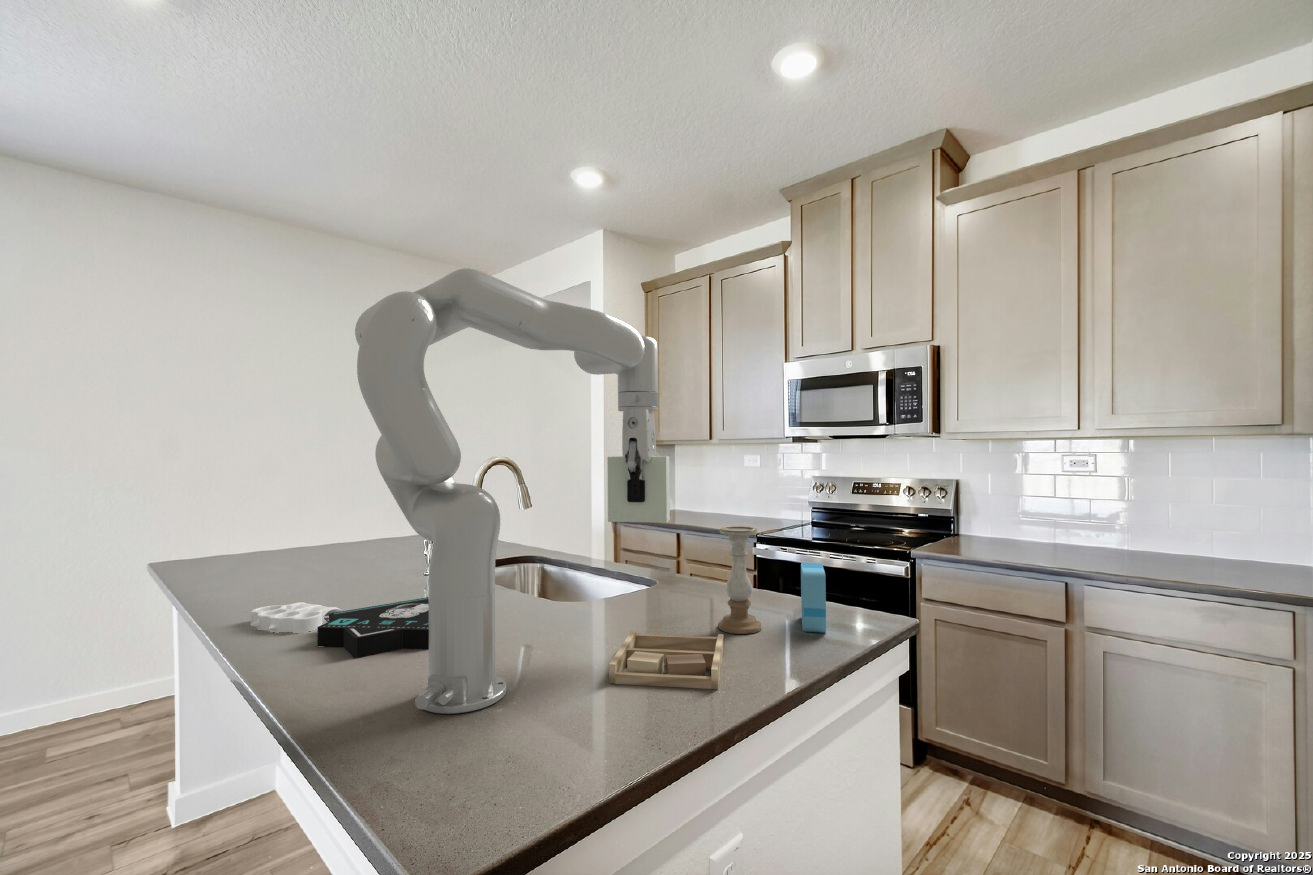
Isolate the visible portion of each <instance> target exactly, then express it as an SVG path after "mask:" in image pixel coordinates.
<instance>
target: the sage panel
mask: <svg viewBox="0 0 1313 875" xmlns="http://www.w3.org/2000/svg"><path fill="white" fill-rule="evenodd" d="M626 459H628V457H626ZM626 462H628V460H627V461H626ZM626 462H624V460H623V456H607V522H608V523H665V524H666V523H668V522H669V521H671V519H670V518H671V516H670V514H671V511H670V510H671V509H670V507H671V506H670V504H671V503H670V500H671V498H670V455H669V456H668V455H666V456H665V455H663V456H661V455H660V456H659V455H658V456H657V455H656V456H653V457H651V462H650V463H646V462H645V460H644V469H643V480H645V501H644V502H628V501H627V480H628V479H627V475H628V463H626ZM636 463H641V459H636ZM639 468H640V467H639ZM639 472H640V470H639Z"/></svg>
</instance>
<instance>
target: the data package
mask: <svg viewBox="0 0 1313 875" xmlns="http://www.w3.org/2000/svg"><path fill="white" fill-rule="evenodd" d="M826 584H827V583H826V572H825V569H824V565H823V563H821V562H820V563H814V562H801V564H800V589H801V590H800V593H801V594H800V595H801V597H800V598H801V599H800V600H801V601H800V604H801V610H800V611H801V625H802V626H801V627H802V628H801V630H802V631H803V632H807V633H826V632H827V602H826V601H827V595H826V594H827V592H826V590H827V589H826V588H827V587H826Z"/></svg>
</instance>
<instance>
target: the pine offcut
mask: <svg viewBox="0 0 1313 875" xmlns="http://www.w3.org/2000/svg"><path fill="white" fill-rule="evenodd" d="M626 666H627V667H626V668H627V671H626V672H631V673H650V674H664V672H665V666H664V654H656V653H646V652H634V653H633V654H632V655H631V656H630V657H629V658H628V659H627V665H626Z"/></svg>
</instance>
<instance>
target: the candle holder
mask: <svg viewBox="0 0 1313 875" xmlns="http://www.w3.org/2000/svg"><path fill="white" fill-rule="evenodd" d="M719 533H720V534H721V535H725V536H727V537H728V538H727V540H728V541H729V543H730V544H731V549H730V551H729V553H728V554H729V556H731V570H730V571H731V572H730V575H729V577H728V580H727V582H726V585H725V591H726V594H727V596H728V597H729V600H728V601H727V605H728V606H729V609H730V613H727V614H725V615H724V616H722V619H720V620H719V621H718V622H717V627H718V629H719V630H720V631H722V632H725V633H728V634H735V635H736V634H737V635H747V634H754V633H758V632H759V631H761V630H762V623H761V621H759V619H757V618H756V616H754V615H753V614H749V609H750V606H751V605H752V601H751V600H749V598H750V597H751V596H752V593H753V585H752V582H751V580H750V578H749V575H748V572H747V564H746V560H747V558H746V557H747V556H749V553H748V551H747V550H746V549H747V548H746V545H747V543H748V542H749V540H750V538H749V536H754V535H757V534H758V529H757V528H756V527H753V526H741V525H738V526H736V525H735V526H734V525H733V526H732V525H731V526H724V527H720V529H719Z"/></svg>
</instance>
